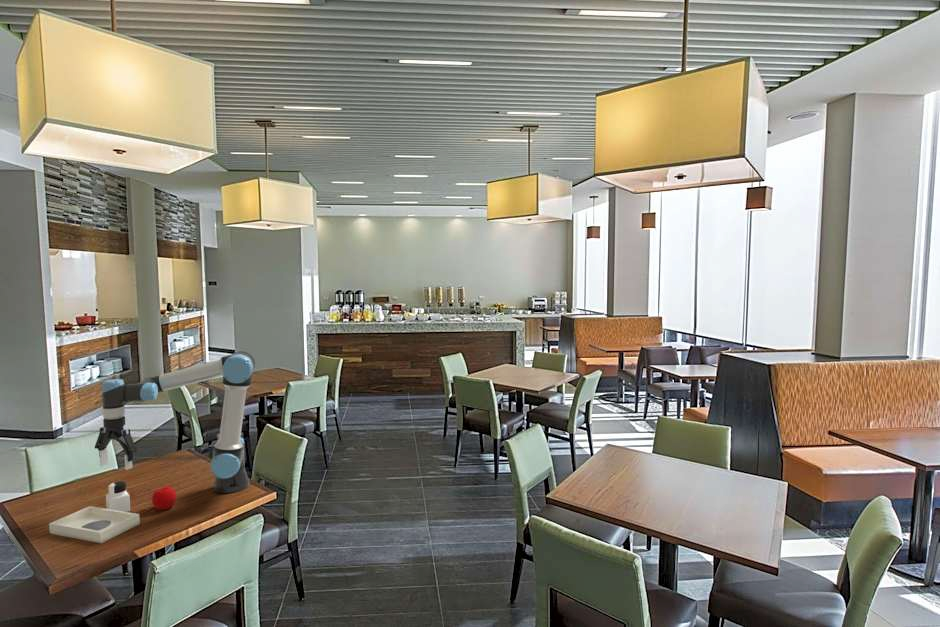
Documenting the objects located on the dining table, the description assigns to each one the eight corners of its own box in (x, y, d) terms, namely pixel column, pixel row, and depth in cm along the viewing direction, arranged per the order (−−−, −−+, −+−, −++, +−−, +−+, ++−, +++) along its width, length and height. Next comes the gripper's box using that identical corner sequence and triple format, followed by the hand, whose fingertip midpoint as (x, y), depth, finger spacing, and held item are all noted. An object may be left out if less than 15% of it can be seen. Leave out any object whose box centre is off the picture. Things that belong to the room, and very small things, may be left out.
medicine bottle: (126, 505, 225) (125, 478, 224) (130, 511, 220) (129, 483, 219) (106, 511, 220) (105, 483, 219) (110, 516, 215) (108, 487, 214)
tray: (139, 524, 208) (139, 514, 208) (101, 543, 193) (100, 532, 193) (90, 515, 216) (90, 506, 216) (49, 533, 201) (49, 523, 200)
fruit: (154, 505, 226) (153, 482, 225) (177, 501, 229) (177, 479, 228) (150, 514, 217) (149, 490, 216) (175, 510, 221) (174, 487, 220)
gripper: (145, 417, 218) (147, 467, 219) (100, 412, 225) (102, 460, 226) (128, 421, 210) (131, 473, 212) (83, 416, 218) (85, 466, 219)
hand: (116, 467), depth 219 cm, fingers open, 13 cm apart
